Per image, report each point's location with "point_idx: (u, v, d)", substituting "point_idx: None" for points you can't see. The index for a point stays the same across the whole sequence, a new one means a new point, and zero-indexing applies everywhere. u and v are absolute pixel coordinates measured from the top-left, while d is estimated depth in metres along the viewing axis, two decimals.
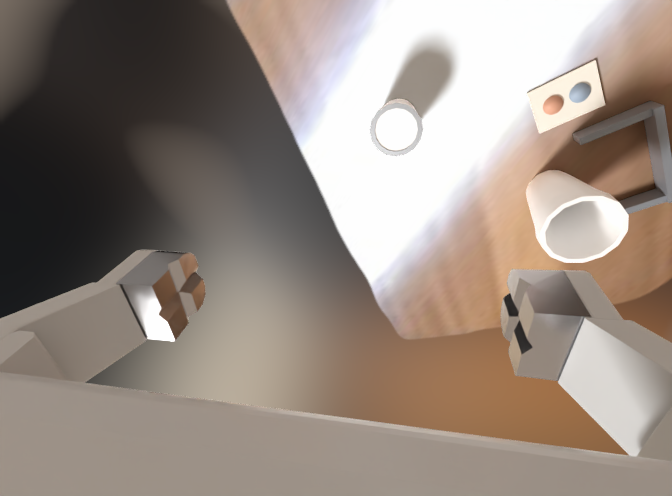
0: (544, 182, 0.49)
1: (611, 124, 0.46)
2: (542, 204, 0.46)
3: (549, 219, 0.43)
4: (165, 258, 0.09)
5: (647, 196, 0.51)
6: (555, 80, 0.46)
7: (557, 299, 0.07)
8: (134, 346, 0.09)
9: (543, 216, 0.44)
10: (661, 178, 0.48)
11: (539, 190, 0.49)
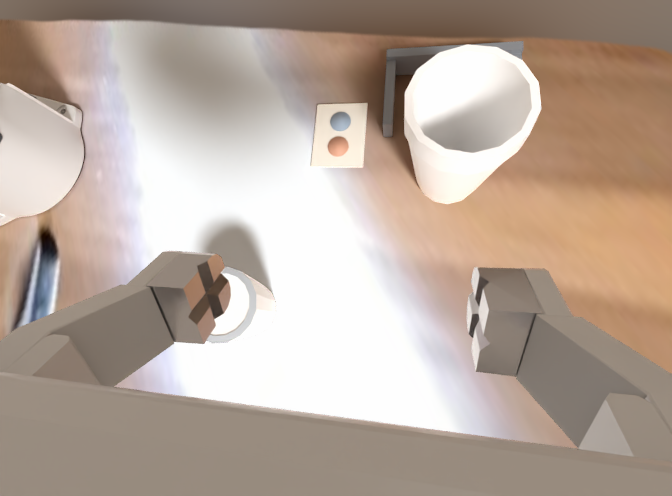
0: None
1: None
2: (417, 157, 0.29)
3: (423, 138, 0.25)
4: (193, 260, 0.09)
5: None
6: (314, 139, 0.41)
7: (513, 296, 0.07)
8: (162, 349, 0.09)
9: (420, 149, 0.26)
10: None
11: (417, 171, 0.33)
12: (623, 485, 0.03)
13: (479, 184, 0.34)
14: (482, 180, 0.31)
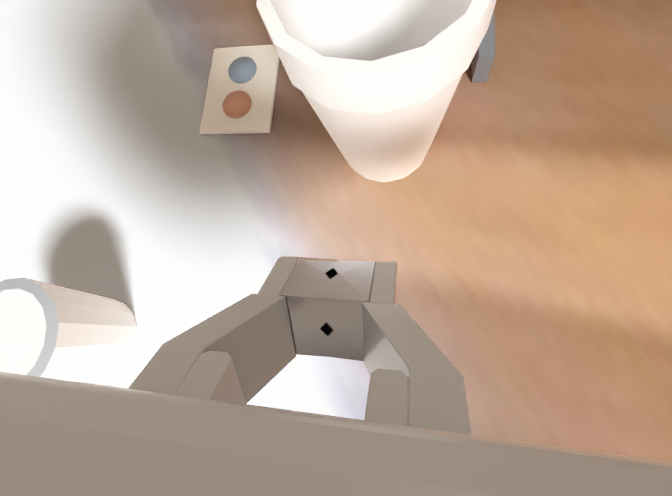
0: None
1: None
2: (303, 93, 0.17)
3: (285, 39, 0.13)
4: (317, 266, 0.08)
5: None
6: (207, 95, 0.29)
7: (351, 286, 0.08)
8: (287, 363, 0.08)
9: (288, 65, 0.14)
10: None
11: None
12: (623, 485, 0.03)
13: (424, 148, 0.22)
14: (423, 138, 0.19)
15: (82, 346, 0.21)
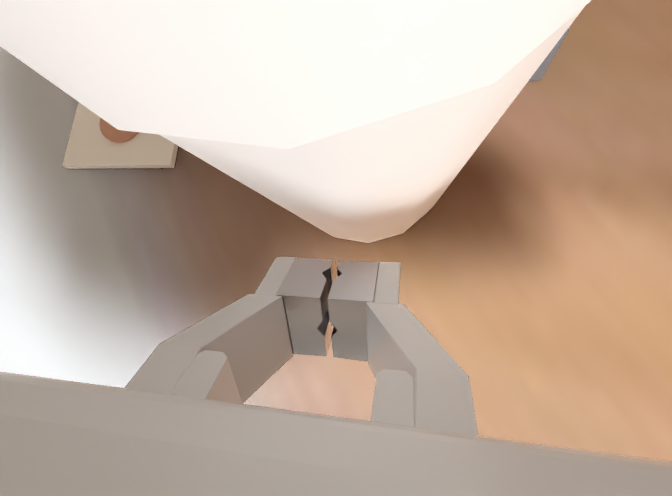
0: None
1: None
2: None
3: None
4: (314, 266, 0.08)
5: None
6: (79, 105, 0.18)
7: (355, 286, 0.07)
8: (283, 362, 0.08)
9: None
10: None
11: None
12: (623, 485, 0.03)
13: (441, 191, 0.11)
14: (443, 178, 0.08)
15: None
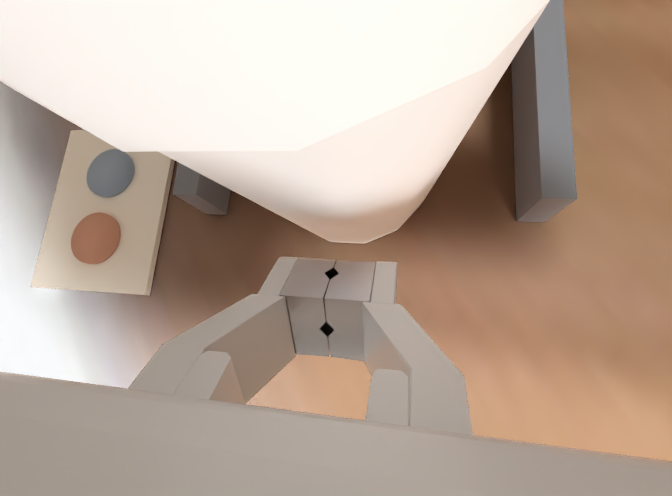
0: None
1: None
2: None
3: None
4: (317, 266, 0.08)
5: (522, 52, 0.14)
6: (51, 216, 0.17)
7: (352, 286, 0.08)
8: (286, 363, 0.08)
9: None
10: None
11: None
12: (623, 485, 0.03)
13: (431, 183, 0.11)
14: (434, 170, 0.09)
15: None
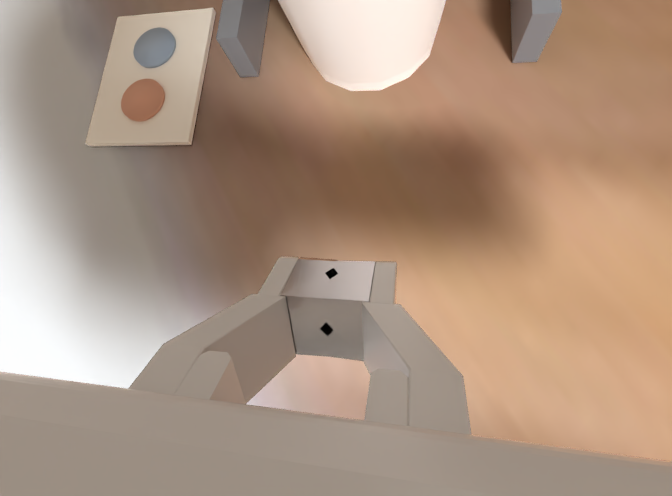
0: None
1: None
2: None
3: None
4: (317, 266, 0.08)
5: None
6: (101, 86, 0.19)
7: (351, 286, 0.08)
8: (287, 362, 0.08)
9: None
10: None
11: None
12: (623, 485, 0.03)
13: None
14: None
15: None
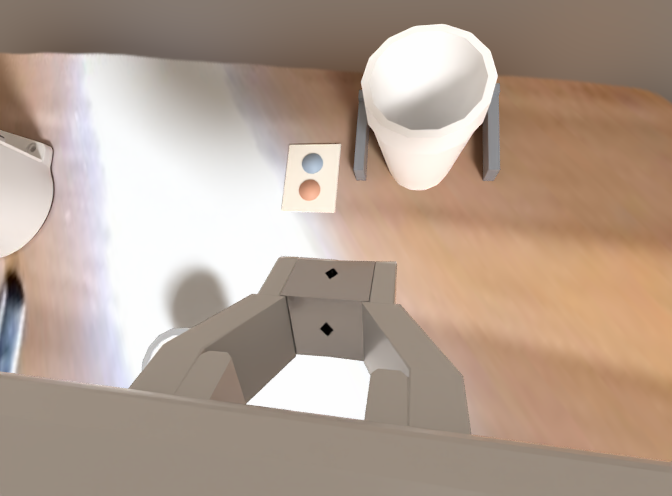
0: (384, 157, 0.34)
1: None
2: (385, 145, 0.28)
3: (387, 123, 0.25)
4: (317, 266, 0.08)
5: (485, 117, 0.36)
6: (286, 181, 0.40)
7: (351, 286, 0.08)
8: (286, 363, 0.08)
9: (386, 134, 0.26)
10: None
11: (388, 161, 0.33)
12: (623, 485, 0.03)
13: (452, 164, 0.33)
14: (454, 159, 0.31)
15: None
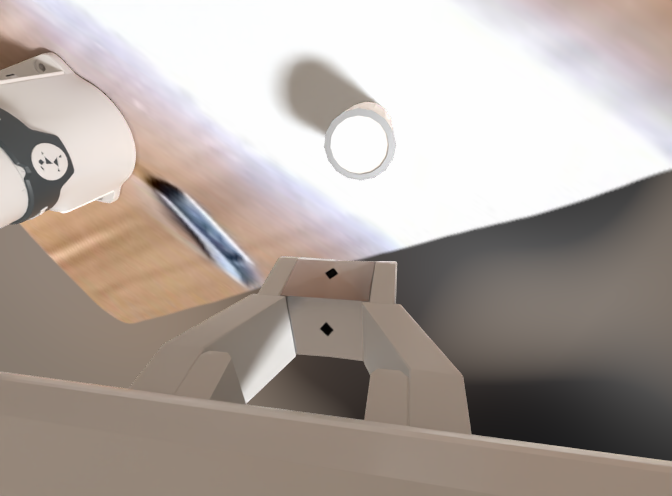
0: None
1: None
2: None
3: None
4: (317, 266, 0.08)
5: None
6: None
7: (351, 286, 0.08)
8: (287, 363, 0.08)
9: None
10: None
11: None
12: (623, 485, 0.03)
13: None
14: None
15: (392, 127, 0.34)
